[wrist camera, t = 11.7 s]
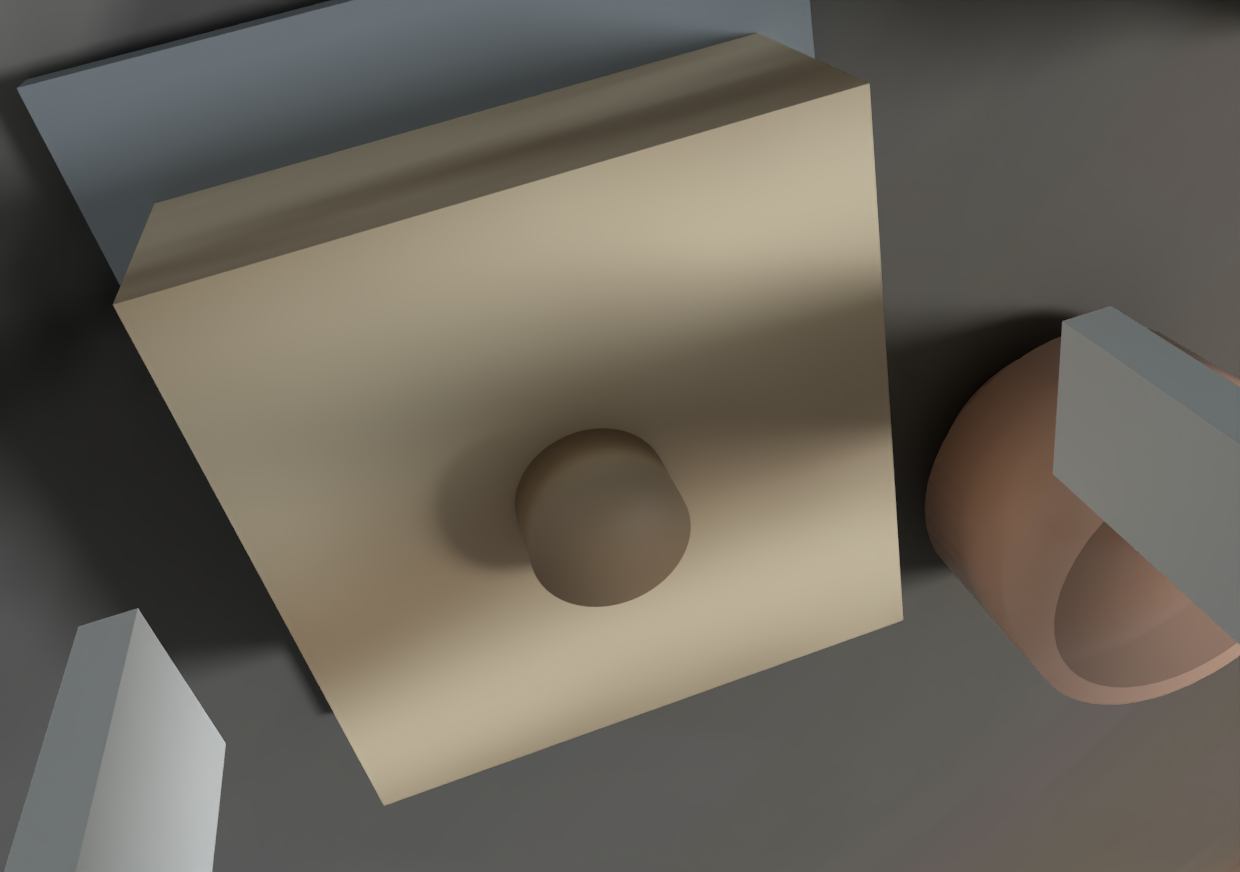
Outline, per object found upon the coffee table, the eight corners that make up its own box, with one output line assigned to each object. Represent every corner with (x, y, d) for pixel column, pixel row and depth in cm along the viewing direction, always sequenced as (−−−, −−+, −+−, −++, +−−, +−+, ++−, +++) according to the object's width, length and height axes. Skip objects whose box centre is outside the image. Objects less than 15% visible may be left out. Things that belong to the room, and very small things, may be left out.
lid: (154, 203, 16) (94, 346, 11) (757, 32, 17) (915, 103, 12) (372, 652, 21) (388, 863, 17) (814, 501, 22) (936, 664, 18)
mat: (26, 79, 15) (16, 88, 14) (784, -118, 16) (799, -117, 16) (352, 710, 22) (353, 730, 22) (846, 541, 24) (858, 556, 23)
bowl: (896, 360, 21) (1037, 487, 17) (1185, 267, 22) (1387, 367, 18) (908, 597, 25) (1026, 747, 21) (1155, 510, 26) (1314, 639, 22)
